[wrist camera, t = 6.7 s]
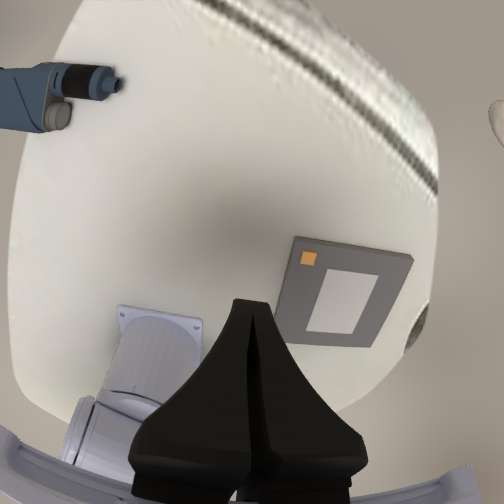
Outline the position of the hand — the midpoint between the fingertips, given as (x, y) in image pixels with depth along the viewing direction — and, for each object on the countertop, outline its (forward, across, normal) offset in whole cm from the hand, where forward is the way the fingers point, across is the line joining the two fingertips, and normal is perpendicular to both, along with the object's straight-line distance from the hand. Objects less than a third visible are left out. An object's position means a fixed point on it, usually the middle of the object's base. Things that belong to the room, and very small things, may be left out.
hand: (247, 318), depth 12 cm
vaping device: (+9, +22, -8) cm, 25 cm away
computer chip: (+10, -8, +6) cm, 15 cm away
